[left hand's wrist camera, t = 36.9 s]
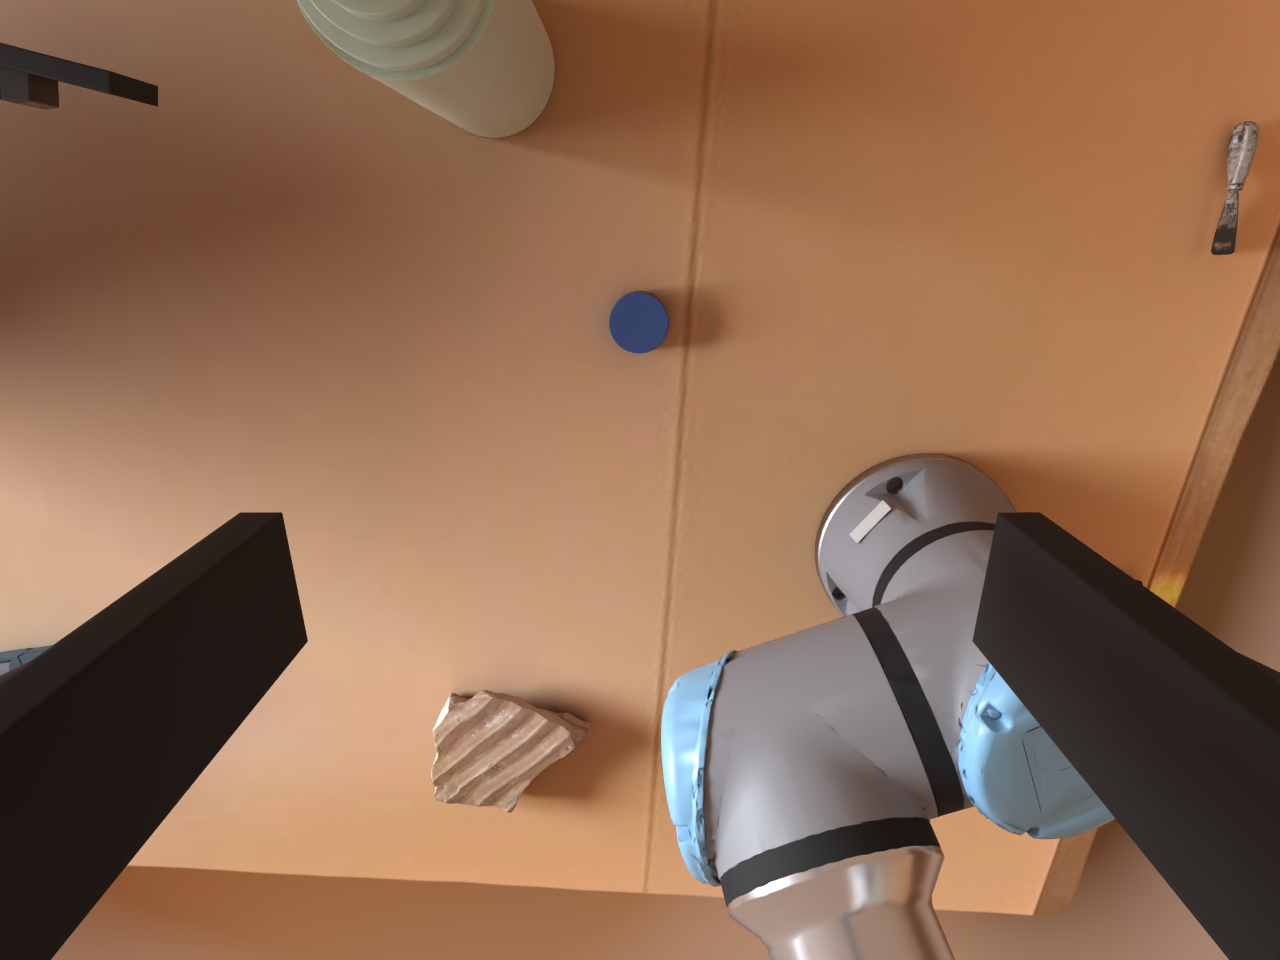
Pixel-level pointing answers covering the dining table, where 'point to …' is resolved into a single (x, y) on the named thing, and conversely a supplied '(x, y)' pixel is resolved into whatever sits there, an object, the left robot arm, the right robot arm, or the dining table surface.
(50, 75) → the right robot arm
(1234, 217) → the putty knife
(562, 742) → the stone
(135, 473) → the dining table surface
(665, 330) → the cap
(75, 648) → the left robot arm
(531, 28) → the bottle
